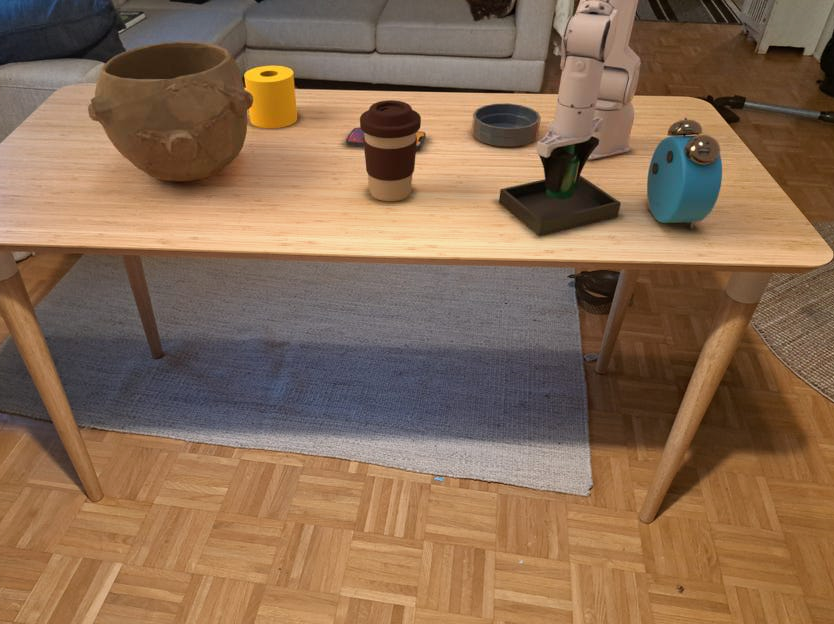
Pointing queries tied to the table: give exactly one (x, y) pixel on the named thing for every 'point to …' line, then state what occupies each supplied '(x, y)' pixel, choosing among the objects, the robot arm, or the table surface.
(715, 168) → the alarm clock
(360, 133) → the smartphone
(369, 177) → the coffee cup
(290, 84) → the yellow toilet paper roll
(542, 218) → the tray
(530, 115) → the dish
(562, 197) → the bottle
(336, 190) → the table surface
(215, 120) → the bowl
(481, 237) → the table surface
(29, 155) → the table surface
